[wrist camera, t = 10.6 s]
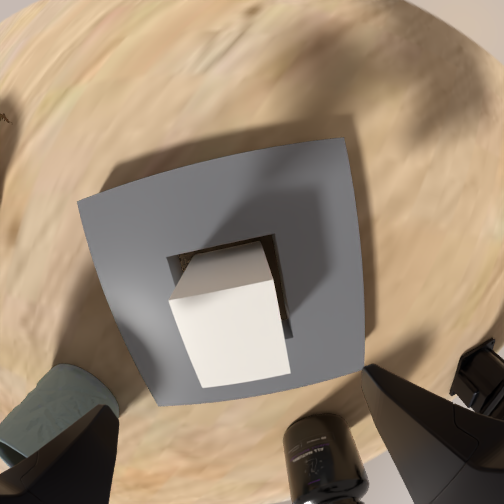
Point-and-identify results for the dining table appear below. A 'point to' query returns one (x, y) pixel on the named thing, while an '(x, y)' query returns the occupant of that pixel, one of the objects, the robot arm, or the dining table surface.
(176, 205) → the socket
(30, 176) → the dining table surface
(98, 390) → the teal cup
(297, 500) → the supplement bottle
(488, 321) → the dining table surface
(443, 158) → the dining table surface
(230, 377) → the plug
